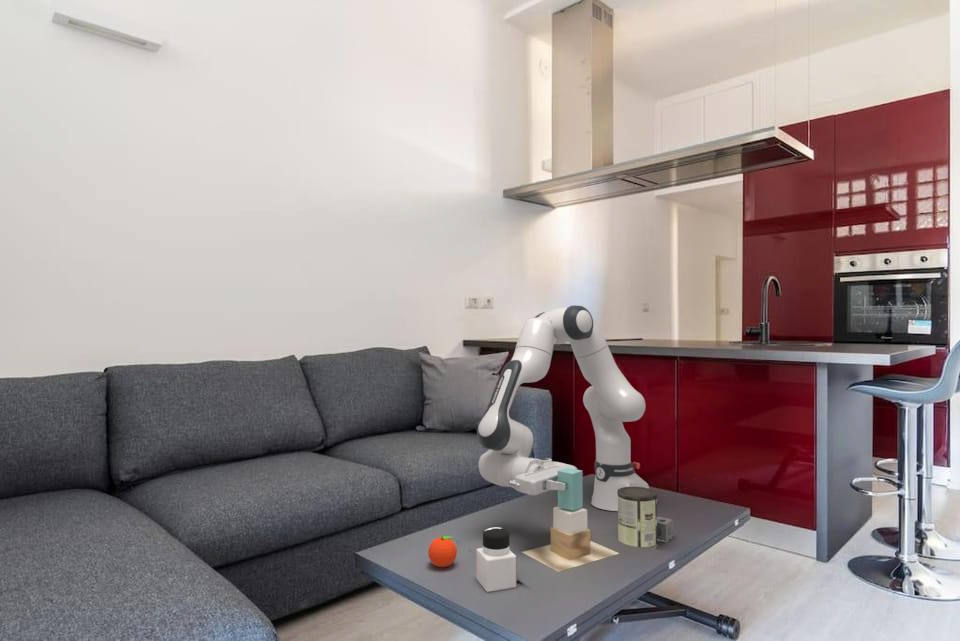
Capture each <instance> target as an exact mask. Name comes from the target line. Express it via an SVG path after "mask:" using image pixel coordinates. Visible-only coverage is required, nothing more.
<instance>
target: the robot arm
mask: <svg viewBox="0 0 960 641" xmlns="http://www.w3.org/2000/svg"><path fill="white" fill-rule="evenodd" d="M566 343H568V344H570V346H571V350H572V352H573V355H574V357H575V359H576V361H577V364H578V366H579V370H580V371H581V373H582V376H583V377H584V379H585V380H586V381H587V382H588V383H589V384H590V386H589V387H588V388H586V390H585V391H584V394H583V395H582V396H583V398H582V402H583V405H584V407H585V409H586V410H587V412H588V415H589V417H590V419H591V423H592V427H593V431H594V436H595V460H594V472H595V476H594V482H593V484H594V485H593V493H592V495H591V503H590V504H591V505H592V506H593V507H595V508H597V509H600V510H604V511H605V510H606V511H610V512H618V494H617V490H618V489H620V488H623V487H644V488H649V489H650V486H649V484H648V483H647V481H645V480H644V479H643V478H642V477H640V476H639V475H638V474H637V473H636V471H635V469H637V470H639V469H640V468H641V464H640V462H636V461H633V462H632V461H631V456H632V455H631V449H632V448H631V444H632V443H631V437H630V436H629V434H628V432H627V431H626V429H625V427H624V423H628V422H629V423H630V422H636V421H638V420H640V419H641V418H642V417H643V416H644V414H645V411H646V401H645V398H644V396H643V395H642V393H640V392H639V391H638V390H636V389H635V388H634V387H633V386H632V385H631V383H630V382H629V381H628V379H627V378H626V377H625V375H624V374H623V373H622V371H621V370H620V369H619V367H618V365H617V363H616V361H615V359H614V356H613V354H612V352H611V350H610V348H609V345H608V343H607V340H606V338H605V336H604V334H603V332H602V331H601V329H600V327H599V325H598V324H597V323H596V321H595V320H594V319H593V316H592V314H591V312H590V311H589V310H588V309H587V308H586V307H584V306H583V305H575V304H574V305H570V306H563V307H557V308H554V309H551V310H548V311H546V312H545V311H544V312H541V313H539V314H537V315H535V316H534V317H531V318H529V319H527V320H526V321H525V322H524V324H523V326H522V329H521V330H520V333H519V335H518V338H517V342H516V345H515V350H514V353H513V356H512V357H511V359H510V360H509V361H507V362H506V364H504V366H503V368H502V369H501V372H500V374H499V376H498V379H497V381H496V385H495V387H494V388H493V392H492V394H491V397H490V400H489V402H488V405H487V407H486V409H485V411H484V413H483V414H482V415H481V417H480V419H479V422H478V424H477V427H476V436H477V439H478V442H479V443H480V445H481V446H482V447H483V448H484V449H488V450H487V451H485V452H484V453H483V454H481V455H480V457H479V458H478V471H479V474H480V475H481V477H482V478H483V479H484V480H485V481H487V482H489V483H491V484H493V485H497V486H500V487H505V488H508V487H510V488H513V489H514V490H516V491H517V492H519V493H522V494H525V495H529V496H537V495H540V494H543V493H546V492H548V491H558V490H562V491H564V490H567V489H568V487H567V486H568V484H567V482H558V471H559V470H562V469H565V468H571V469H576V470H578V468H577V467H576V466H575V465H572V464H567V463H564V462H559V461H553V460H552V458H549V457H543V458H534V457H531V453H532V451H533V447H534V442H535V439H534V433H533V431H532V430H531V428H530V427H528V426H527V425H524V424H523V423H521V422H519V421H516V420H514V419H512V418H511V416H510V410H511V407H512V404H513V402H514V399H515V395H516V393H517V390H518V389H519V387H520V385H522V384H524V383H526V384H528V383H536V382H538V381H540V380H542V379H544V378H545V377H546V375H547V374H548V372H549V369H550V366H551V361H552V356H553V352H554V346H555V345H563V344H566Z"/></svg>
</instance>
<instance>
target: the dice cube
mask: <svg viewBox="0 0 960 641" xmlns="http://www.w3.org/2000/svg"><path fill="white" fill-rule="evenodd" d="M672 536H673V537H674V520H673V519H672V518H671V519H670V518H665V517H661V516H657V539H659V540H664V541H667V540H668V539H669V538H670V537H672Z"/></svg>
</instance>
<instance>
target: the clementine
mask: <svg viewBox="0 0 960 641" xmlns="http://www.w3.org/2000/svg"><path fill="white" fill-rule="evenodd" d="M452 539H455V540H456V537H453V536H451V535H450V536H449V535H445V536H438V537H436V538H434V539H433V540H432V541H431V543H430V544H429V547H428V550H427V551H428V552H427V554H428V558H429V560H430V562H431V563H432V564H433V565H434V566H436V567H438V568H447V567H448V566H450V565H451V564H453V563H454V562H455V560H456V558H457V552H458V550H457V545H456V543H458V540H456V543H455V542H454V541H453V540H452Z"/></svg>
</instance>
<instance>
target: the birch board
mask: <svg viewBox="0 0 960 641" xmlns="http://www.w3.org/2000/svg"><path fill="white" fill-rule="evenodd" d="M521 553H522V554H524V555H526V556H528V557H530V558H532V559H533V560H535V561H537V562H539V563H541V564H543V565H544V566H546V567H548V568H550V569H552V570H554V571H556V572H558V573H560V572H562V571H566V570H570V569H572V568H573V569H574V568H576V567H579V566H582V565H586V564H589V563H593V562H595V561H600V560H602V559H606V558H609V557H613V556H615V555H619V554H620V553H619V552H617V551H616V550H615V551H614V550H613V549H610V548H607V547H605V546H604V545H601V544H600V543H596V542H595V541H592V540H590V555H586V556H583V557H580V558H576V559H573V560H567V559H565V558H563V557H561V556H559V555H557V554H555V553H553V552H551V544H547V545H543V546H540V547H536V548H532V549H529V550H524V551H521Z"/></svg>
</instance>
